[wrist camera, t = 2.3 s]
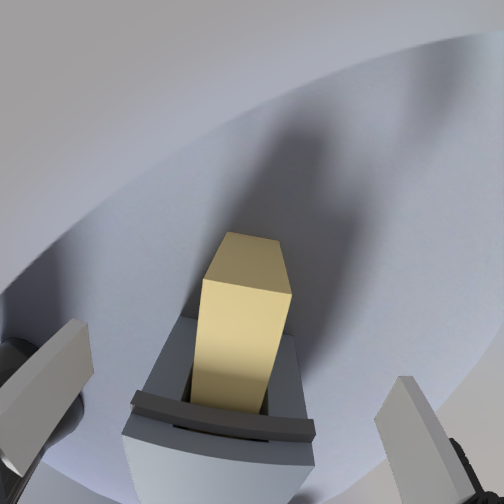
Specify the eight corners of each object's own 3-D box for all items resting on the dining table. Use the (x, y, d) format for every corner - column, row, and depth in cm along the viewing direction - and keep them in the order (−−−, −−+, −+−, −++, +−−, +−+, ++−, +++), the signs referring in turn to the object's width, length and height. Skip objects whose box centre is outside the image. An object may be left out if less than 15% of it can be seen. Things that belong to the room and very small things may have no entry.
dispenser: (174, 407, 28) (142, 509, 15) (180, 307, 24) (119, 425, 11) (265, 422, 28) (265, 529, 15) (295, 328, 25) (320, 458, 12)
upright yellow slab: (206, 373, 26) (186, 454, 17) (227, 231, 23) (203, 278, 13) (247, 380, 26) (242, 463, 17) (278, 240, 23) (292, 294, 13)
